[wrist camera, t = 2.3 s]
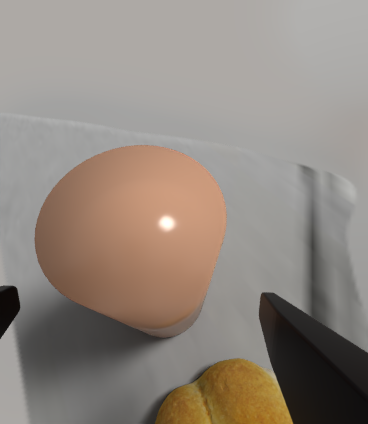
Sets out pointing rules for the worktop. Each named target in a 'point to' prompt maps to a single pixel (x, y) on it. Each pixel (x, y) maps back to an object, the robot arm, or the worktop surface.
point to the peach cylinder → (134, 237)
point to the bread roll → (227, 397)
